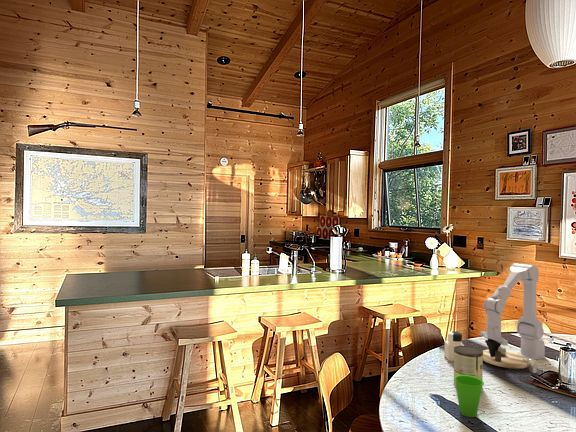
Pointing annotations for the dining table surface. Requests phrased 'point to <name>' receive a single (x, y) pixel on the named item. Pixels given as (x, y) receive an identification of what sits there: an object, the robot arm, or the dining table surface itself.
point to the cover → (502, 351)
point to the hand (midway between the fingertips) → (493, 356)
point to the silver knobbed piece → (531, 365)
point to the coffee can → (468, 361)
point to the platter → (506, 359)
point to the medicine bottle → (452, 344)
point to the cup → (468, 394)
